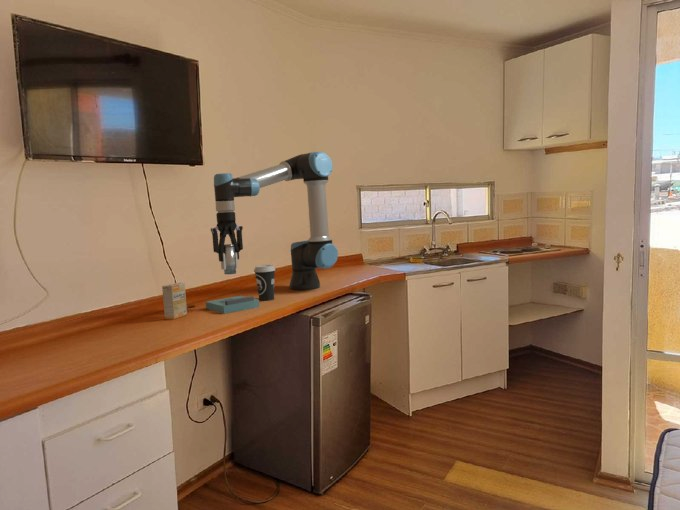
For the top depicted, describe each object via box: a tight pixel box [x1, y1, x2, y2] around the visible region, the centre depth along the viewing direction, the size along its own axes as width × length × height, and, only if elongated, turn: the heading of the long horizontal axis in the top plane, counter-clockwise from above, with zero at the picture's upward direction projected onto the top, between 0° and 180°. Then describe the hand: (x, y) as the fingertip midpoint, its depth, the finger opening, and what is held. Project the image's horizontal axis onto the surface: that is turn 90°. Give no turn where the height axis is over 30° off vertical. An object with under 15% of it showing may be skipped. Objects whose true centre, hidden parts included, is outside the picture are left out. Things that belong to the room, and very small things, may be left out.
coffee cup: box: [253, 264, 276, 302], centre depth 231 cm, size 10×10×15 cm
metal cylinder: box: [223, 243, 237, 275], centre depth 214 cm, size 5×5×12 cm
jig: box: [205, 295, 260, 314], centre depth 216 cm, size 16×16×5 cm
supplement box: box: [161, 282, 188, 320], centre depth 203 cm, size 8×5×13 cm, turn 160°
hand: (229, 268), depth 215 cm, fingers closed on metal cylinder, 5 cm apart
